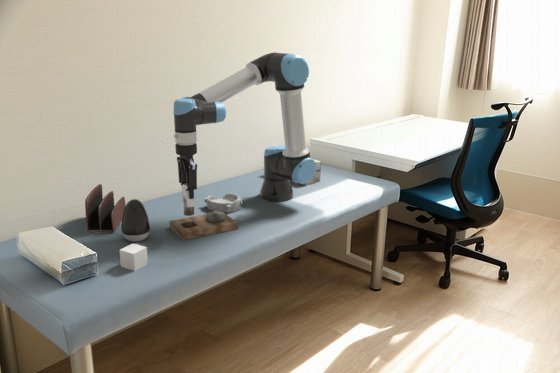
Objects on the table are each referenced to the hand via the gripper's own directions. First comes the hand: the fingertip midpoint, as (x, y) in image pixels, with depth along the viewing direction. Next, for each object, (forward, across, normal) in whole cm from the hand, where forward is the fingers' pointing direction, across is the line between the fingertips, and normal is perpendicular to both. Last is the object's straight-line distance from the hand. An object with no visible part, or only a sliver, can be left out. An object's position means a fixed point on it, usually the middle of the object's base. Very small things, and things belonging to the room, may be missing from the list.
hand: (188, 204), depth 193 cm
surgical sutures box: (+12, -40, +74) cm, 85 cm away
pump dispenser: (+11, -3, -19) cm, 22 cm away
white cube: (+11, +17, -26) cm, 33 cm away
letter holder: (+11, -24, -24) cm, 36 cm away
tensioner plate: (+11, 0, +6) cm, 12 cm away
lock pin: (+4, 0, 0) cm, 4 cm away
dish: (+12, -17, +23) cm, 31 cm away
